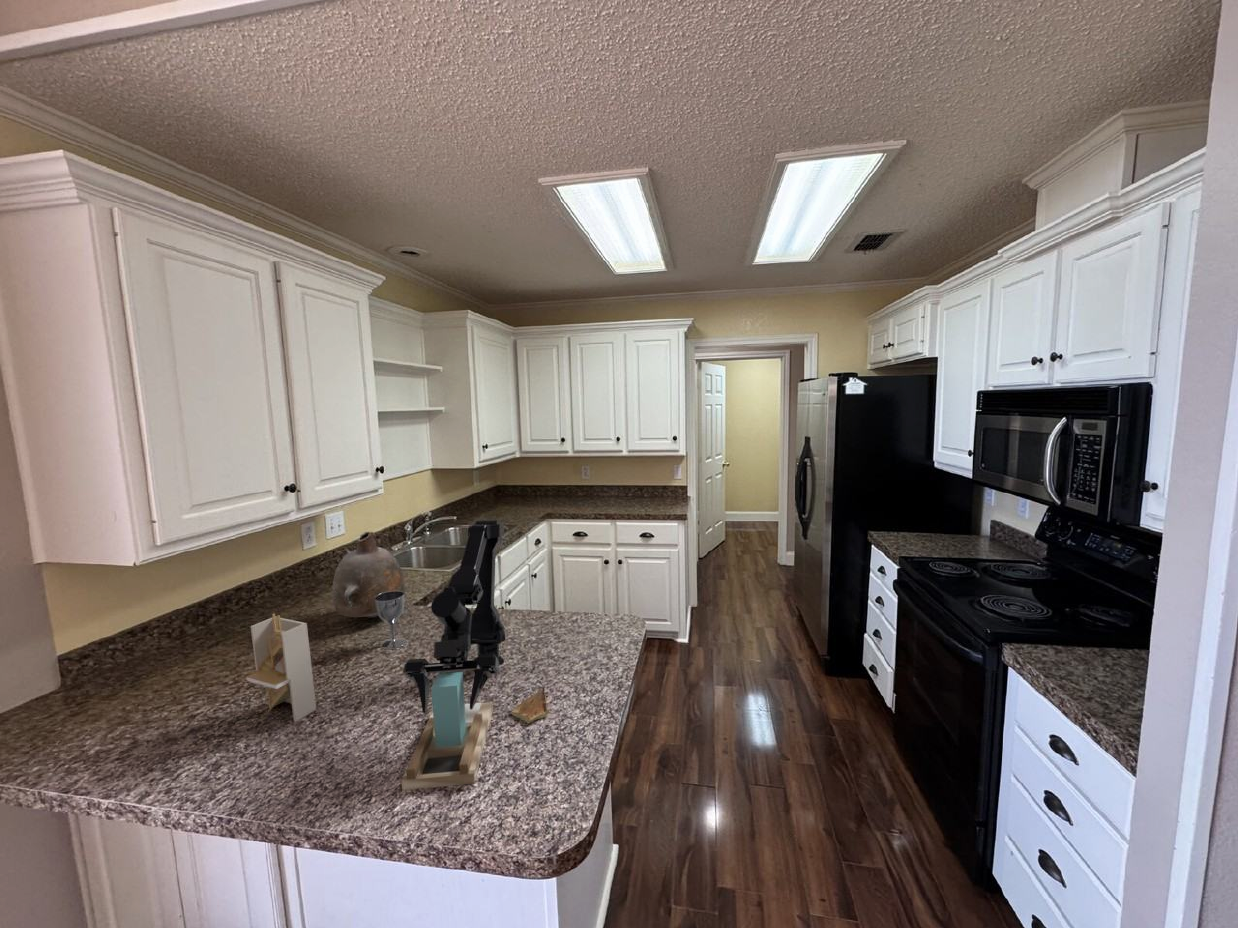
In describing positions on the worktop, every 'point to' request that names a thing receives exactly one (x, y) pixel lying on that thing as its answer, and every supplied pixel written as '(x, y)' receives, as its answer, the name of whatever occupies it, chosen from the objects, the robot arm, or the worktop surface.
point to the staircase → (284, 663)
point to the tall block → (448, 709)
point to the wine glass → (390, 614)
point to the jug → (365, 578)
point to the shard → (532, 708)
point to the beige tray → (449, 753)
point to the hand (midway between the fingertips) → (447, 710)
